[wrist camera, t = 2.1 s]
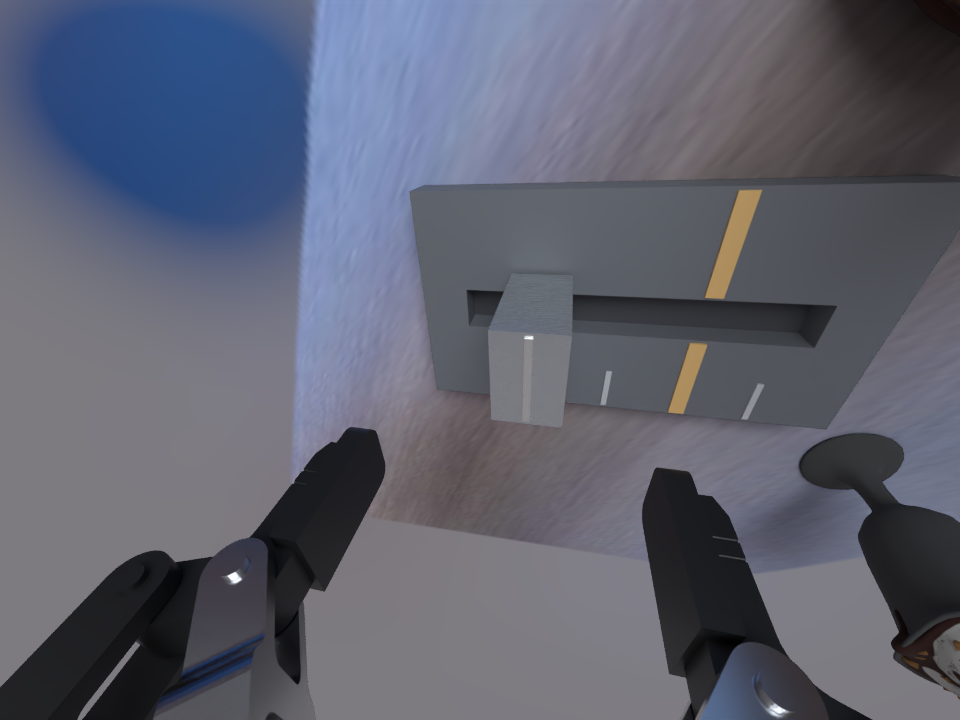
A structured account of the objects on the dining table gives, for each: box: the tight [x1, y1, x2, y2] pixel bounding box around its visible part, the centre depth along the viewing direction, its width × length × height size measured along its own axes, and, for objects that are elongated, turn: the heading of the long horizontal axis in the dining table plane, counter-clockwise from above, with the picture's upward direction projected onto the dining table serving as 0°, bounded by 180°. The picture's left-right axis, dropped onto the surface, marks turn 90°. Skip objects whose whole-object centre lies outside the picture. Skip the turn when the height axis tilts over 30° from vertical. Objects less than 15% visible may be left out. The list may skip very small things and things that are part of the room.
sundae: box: [800, 434, 960, 699], centre depth 16 cm, size 7×7×15 cm
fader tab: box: [488, 274, 573, 428], centre depth 17 cm, size 3×4×8 cm
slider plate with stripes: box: [409, 175, 960, 429], centre depth 19 cm, size 22×12×2 cm, turn 93°
